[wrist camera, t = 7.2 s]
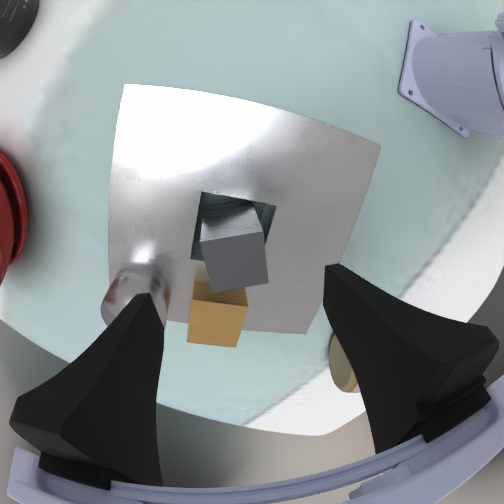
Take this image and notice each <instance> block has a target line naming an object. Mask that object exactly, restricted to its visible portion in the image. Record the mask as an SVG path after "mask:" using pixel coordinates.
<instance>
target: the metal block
mask: <svg viewBox="0 0 504 504" xmlns="http://www.w3.org/2000/svg"><path fill="white" fill-rule="evenodd" d="M200 245H201V249H202V253H203V257H204V262H205V266H206V270H207V274H208V278H209V282H210V286H211V290H212V293H213V292H219V291H226V290H232V289H238V288H244V287H250V286H256V285H262V284H268V283H269V279H268V270H267V261H266V252H265V243H264V234H263V230H262V227H261V224H260V222H259V219H258V216H257V214H256V211H255V209H254V206H253V204H252V201H251V200H246V199H241V198H236V197H230V196H225V195H218V196H212V197H207V198H205V204H204V211H203V219H202V227H201V236H200Z"/></svg>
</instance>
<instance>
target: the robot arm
mask: <svg viewBox="0 0 504 504" xmlns="http://www.w3.org/2000/svg"><path fill="white" fill-rule="evenodd" d="M495 25H496V27H497V29H498V30H497V31H478V32H465V33H456V34H448V35H441V36H438V35H437V34H436V33H435V32H433V31H432V30H431V29H429V28H428V27H427V26H425V25H424V24H423V23H421V22H420V21H418V20H417V19H414V20H412V21H411V27H410V33H409V40H408V45H407V51H406V56H405V62H404V67H403V71H402V76H401V81H400V85H399V92H400V93H401V94H402V95H403V96H405V97H406V98H408V99H410V100H411V101H413V102H414V103H416V104H418V105H419V106H421V107H422V108H424V109H425V110H427V111H428V112H430V113H431V114H433V115H434V116H436V117H437V118H438V119H440V120H441V121H443V122H444V123H445V124H447V125H448V126H449V127H451V128H452V129H453V130H455V131H456V132H457V133H459V134H460V135H461V136H462V137H464V138H468V136H469V133H470V130H472V131H476V132H480V133H484V134H487V135H490V136H494V137H497V138H500V139H503V140H504V12H503V13H499V14H498V16H497V20H495ZM420 26H421V27H420ZM421 28H422V29H421ZM408 91H410V95H409V93H408ZM459 128H460V129H459ZM323 306H324V309H325V312H326V315H327V317H328V320H329V323H330V325H331V327H332V329H333V331H334V333H335V335H336V337H337V339H338V341H339V343H340V345H341V347H342V349H343V351H344V353H345V355H346V357H347V359H348V361H349V362H350V365H351V367H352V369H353V371H354V374H355V377H356V380H357V383H358V386H359V389H360V392H361V395H362V398H363V401H364V405H365V408H366V411H367V415H368V419H369V423H370V427H371V432H372V437H373V441H374V447H375V453H376V455H374V456H371V457H368V458H366V459H363V460H360V461H357V462H354V463H352V464H348V465H345V466H342V467H339V468H335V469H332V470H328V471H325V472H321V473H317V474H313V475H308V476H304V477H300V478H295V479H290V480H284V481H279V482H272V483H265V484H258V485H249V486H240V487H226V488H170V487H162V486H163V481H162V476H161V470H160V464H159V457H158V447H157V436H156V434H157V433H156V397H157V388H158V382H159V375H160V369H161V362H162V356H163V350H164V326H163V324H162V322H161V319H160V317H159V315H158V312H157V310H156V307H155V305H154V302H153V300H152V297H151V294H150V292H149V293H141V294H136V295H135V296H134V297H133V298H132V299H131V300H130V302H129V303H128V304H127V305H126V306H125V307H124V308H123V310H122V311H121V312H120V313H119V314H118V315H117V317H116V318H115V319H114V320H113V321H112V322H111V324H110V325H109V326H108V327H107V328H106V329H105V330H104V331H103V333H102V334H101V335H100V336H99V337H98V338H97V339H96V340H95V341H94V342H93V343H92V344H91V345H90V346H89V347H88V348H87V349H86V350H85V351H84V352H83V353H82V354H81V355H80V356H79V357H78V358H77V359H75V360H74V361H73V362H72V363H70V364H69V365H68V366H67V367H66V368H64V369H63V370H62V371H60V372H59V373H58V374H56V375H55V376H54V377H52V378H51V379H49V380H48V381H46V382H45V383H43V384H42V385H40V386H38V387H36V388H35V389H33V390H31V391H29V392H27V393H25V394H23V395H21V396H19V397H18V398H17V401H16V403H15V406H14V409H13V412H12V415H11V418H10V421H9V423H10V426H11V427H12V429H13V430H14V431H15V432H16V433H17V434H19V435H20V436H21V437H22V438H23V439H25V440H26V441H27V442H29V443H30V444H31V445H33V446H34V447H36V448H37V449H38V450H40V451H41V456H40V457H39V456H37V455H35V454H33V453H31V452H28V451H25V450H23V449H21V448H18V447H17V448H16V449H15V454H14V458H13V462H12V467H11V472H10V477H9V483H8V489H7V494H8V496H10V497H11V498H13V499H14V500H16V501H18V502H19V503H21V504H269V503H275V502H282V501H287V500H293V499H297V498H302V497H307V496H311V495H315V494H320V493H323V492H327V491H331V490H334V489H338V488H341V487H344V486H347V485H350V484H353V483H356V482H359V481H362V480H365V479H367V478H370V477H373V476H375V475H378V474H380V473H383V472H385V471H387V470H390V469H392V468H393V469H392V470H390V471H388V472H386V473H384V474H382V475H380V476H378V477H376V478H373V479H371V480H369V481H367V482H364V483H362V484H361V485H360V487H359V488H358V489H356V490H354V491H352V492H350V493H349V498H350V500H349V501H345V502H342V503H338V504H436V503H437V502H439V501H440V500H441V499H443V498H444V497H446V496H447V495H449V494H450V493H451V492H453V491H454V490H456V489H457V488H458V487H459V486H461V485H462V484H463V483H465V482H466V481H467V480H468V479H469V478H470V477H472V476H473V475H474V474H476V473H477V472H478V471H479V470H480V469H481V468H482V467H484V466H485V465H486V464H487V463H488V462H489V461H490V460H491V459H492V458H493V457H494V456H495V455H496V454H497V453H498V452H499V451H500V450H501V449H502V448H503V447H504V375H503V376H502V377H500V378H499V379H498V380H497V381H495V382H494V383H493V384H492V385H490V386H489V387H488V388H487V389H485V387H484V386H483V384H484V383H485V382H486V379H485V378H484V376H483V375H482V374H483V372H484V371H485V370H486V368H487V367H488V365H489V364H490V362H491V361H492V360H493V358H494V356H495V355H496V353H497V351H498V348H499V341H498V339H497V338H496V337H495V336H494V334H493V333H492V332H491V331H490V330H489V328H488V327H487V326H482V325H476V324H470V323H464V322H460V321H456V320H452V319H448V318H445V317H441V316H438V315H435V314H433V313H430V312H427V311H424V310H422V309H419V308H417V307H415V306H412V305H410V304H408V303H406V302H403V301H401V300H399V299H397V298H396V297H394V296H392V295H390V294H388V293H386V292H385V291H383V290H381V289H380V288H378V287H376V286H374V285H373V284H371V283H370V282H368V281H366V280H365V279H363V278H362V277H360V276H359V275H357V274H355V273H354V272H352V271H351V270H349V269H348V268H346V267H344V266H343V265H341V264H339V263H337V264H331V265H326V266H325V274H324V293H323Z"/></svg>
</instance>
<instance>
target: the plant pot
mask: <svg viewBox="0 0 504 504" xmlns="http://www.w3.org/2000/svg"><path fill="white" fill-rule="evenodd" d="M27 223H28V216H27V205H26V199H25V195H24V191H23V188H22V184H21V182H20V179H19V177H18V175H17V173H16V171H15V169H14V167H13V166H12V164H11V163H10V161H9V160H8V159H7V158H6V157H5V156H4V155H3V154H2V153H1V152H0V285H1V283H2V281H3V279H4V276H5V273H6V271H7V267H8V266H9V265H11V264H12V263H13V262H14V261H15V260H16V259H17V258H18V257H19V255H20V254H21V252H22V249H23V247H24V244H25V240H26V234H27Z"/></svg>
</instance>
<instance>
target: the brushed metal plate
mask: <svg viewBox="0 0 504 504" xmlns="http://www.w3.org/2000/svg"><path fill="white" fill-rule="evenodd" d="M380 149H381V145H379V144H377V143H374V142H372V141H370V140H367V139H365V138H362V137H360V136H358V135H355V134H352V133H350V132H347V131H345V130H342V129H339V128H337V127H334V126H331V125H328V124H326V123H323V122H320V121H317V120H314V119H311V118H308V117H305V116H301V115H298V114H295V113H291V112H288V111H285V110H281V109H277V108H274V107H270V106H266V105H262V104H258V103H254V102H250V101H245V100H241V99H236V98H231V97H226V96H221V95H216V94H210V93H204V92H198V91H191V90H184V89H176V88H167V87H157V86H145V85H128V84H125V87H124V91H123V96H122V101H121V106H120V111H119V117H118V123H117V129H116V136H115V143H114V151H113V159H112V169H111V180H110V194H109V217H108V260H109V282H110V287H109V289H108V291H107V293H106V295H105V297H104V299H103V301H102V304H101V315H102V318H103V320H104V322H105V323H106V325H107V326H109V325H110V324H111V322H112V321H113V320H114V319H115V318H116V317H117V315H118V314H119V313H120V312H121V311H122V310H123V308H124V307H125V306H126V305H127V304H128V303H129V302H130V300H131V299H132V298H133V297H134V296H135V295H136V294H141V293H149V292H150V294H151V297H152V300H153V302H154V305H155V307H156V310H157V312H158V315H159V317H160V319H161V322H162V324H163V326H164V330H165V326H166V320H169V321H175V322H182V323H188V332H187V342H190V343H197V344H206V345H215V346H225V347H236V345H237V342H238V339H239V336H240V332H241V330H251V331H263V332H276V333H292V334H306V333H307V331H308V329H309V327H310V325H311V323H312V320H313V318H314V316H315V314H316V312H317V310H318V308H319V306H320V304H321V302H322V299H323V293H324V274H325V266H326V265H331V264H337V263H339V261H340V259H341V256H342V254H343V252H344V249H345V247H346V244H347V242H348V239H349V237H350V234H351V232H352V229H353V227H354V224H355V221H356V219H357V216H358V214H359V211H360V208H361V205H362V203H363V200H364V197H365V194H366V191H367V189H368V186H369V183H370V180H371V177H372V174H373V171H374V168H375V165H376V162H377V158H378V155H379V152H380ZM201 192H208V193H214V194H219V195H225V196H230V197H236V198H241V199H246V200H251V201H256V202H261V203H265V206H264V210H263V213H262V217H261V221H260V224H261V227H262V230H263V234H264V243H265V252H266V261H267V270H268V279H269V283H268V284H262V285H256V286H250V287H244V288H238V289H232V290H226V291H219V292H213V293H212V290H211V286H210V282H209V278H208V274H207V270H206V266H205V262H204V257H203V253H202V249H201V245H200V240H196V239H193V238H194V232H195V226H196V220H197V214H198V208H199V203H200V198H201Z"/></svg>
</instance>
